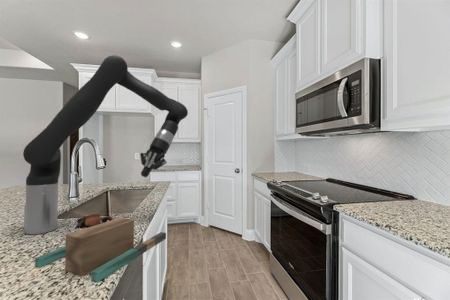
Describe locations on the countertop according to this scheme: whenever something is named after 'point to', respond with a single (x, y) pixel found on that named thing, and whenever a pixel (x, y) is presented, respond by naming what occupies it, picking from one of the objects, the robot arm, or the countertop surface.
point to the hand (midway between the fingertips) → (143, 176)
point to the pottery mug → (91, 221)
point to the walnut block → (98, 245)
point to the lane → (109, 266)
